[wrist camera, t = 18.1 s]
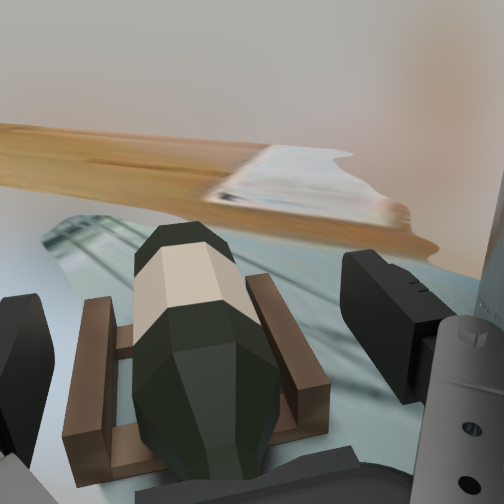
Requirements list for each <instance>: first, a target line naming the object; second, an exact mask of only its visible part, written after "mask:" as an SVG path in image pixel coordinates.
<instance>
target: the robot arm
mask: <svg viewBox="0 0 504 504" xmlns="http://www.w3.org/2000/svg"><path fill="white" fill-rule="evenodd" d="M340 309H341V314H342V317H343V320H344V322H345V323H346V325H347V326H348V328H349V329H350V331H351V332H352V333H353V335H354V336H355V338H356V339H357V340H358V342H359V343H360V345H361V346H362V348H363V349H364V350H365V352H366V353H367V355H368V356H369V358H370V359H371V360H372V362H373V363H374V365H375V366H376V368H377V369H378V370H379V372H380V373H381V375H382V376H383V378H384V379H385V380H386V382H387V383H388V385H389V386H390V388H391V389H392V390H393V392H394V393H395V395H396V396H397V398H398V399H399V400H400V402H401V403H402V405H405V404H410V403H415V402H420V401H421V402H422V403H423V405H424V406H425V407H424V412H423V418H422V424H421V430H420V436H419V442H418V448H417V454H416V459H415V465H414V471H413V476H412V475H410V474H408V473H406V472H403V471H401V470H398V469H395V468H392V467H388V466H384V465H380V464H374V463H366V462H359V461H358V459H357V457H356V455H355V453H354V451H353V449H352V447H351V445H350V446H345V447H341V448H336V449H331V450H327V451H322V452H317V453H313V454H308V455H303V456H300V457H298V458H296V459H294V460H292V461H290V462H288V463H286V464H284V465H281V466H279V467H277V468H275V469H273V470H271V471H269V472H267V473H265V474H263V475H261V476H259V477H257V478H254V479H251V480H196V479H191V480H187V481H182V482H177V483H172V484H168V485H163V486H158V487H154V488H149V489H144V490H140V491H135V504H504V172H503V177H502V181H501V186H500V191H499V196H498V201H497V205H496V210H495V214H494V220H493V224H492V229H491V233H490V238H489V243H488V247H487V253H486V257H485V262H484V267H483V271H482V276H481V281H480V286H479V291H478V296H477V300H476V305H475V310H474V315H475V317H474V316H468V315H457V314H456V313H455V312H453V311H452V310H451V309H450V308H449V307H448V306H447V305H446V304H445V303H443V302H442V301H441V300H440V299H439V298H438V297H437V296H436V295H435V294H433V293H432V292H431V291H430V292H429V289H428V288H427V287H426V286H425V285H423V284H422V283H420V281H419V280H418V279H417V278H416V277H415V276H413V275H412V274H411V273H410V272H409V271H407V270H405V269H403V268H401V267H399V266H396V265H394V264H388V263H387V262H386V261H385V260H384V259H383V258H382V257H380V256H379V255H378V254H377V253H376V252H375V251H374V250H372V249H368V250H361V251H353V252H346V253H345V254H344V256H343V259H342V272H341V289H340ZM54 366H55V354H54V347H53V343H52V339H51V335H50V332H49V328H48V325H47V321H46V317H45V314H44V310H43V307H42V303H41V300H40V298H39V296H38V295H37V294H36V293H34V294H26V295H19V296H12V297H4V298H3V299H2V300H1V302H0V504H58V503H57V502H56V500H55V499H54V498H53V497H52V496H51V495H50V494H49V492H48V491H47V490H46V489H45V488H44V487H43V485H42V484H41V483H40V482H39V481H38V480H37V479H36V477H35V476H34V475H33V474H32V473H31V472H30V471H29V468H30V464H31V460H32V456H33V452H34V448H35V444H36V440H37V436H38V432H39V428H40V424H41V420H42V416H43V412H44V407H45V404H46V400H47V396H48V392H49V388H50V384H51V380H52V376H53V372H54Z"/></svg>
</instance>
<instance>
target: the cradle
mask: <svg viewBox="0 0 504 504" xmlns="http://www.w3.org/2000/svg"><path fill="white" fill-rule="evenodd" d="M245 280H246V290H247V292H248V295H249V297H250V299H251V302H252V304H253V307H254V309H255V311H256V314H257V316H258V319H259V321H260V323H261V326H262V328H263V331H264V333H265V336H266V338H267V340H268V343H269V345H270V348H271V350H272V352H273V355H274V357H275V360H276V362H277V364H278V367H279V369H280V416H279V418H278V421H277V423H276V426H275V428H274V431H273V434H272V436H271V439H270V441H269V444H268V446H270V445H275V444H279V443H284V442H288V441H293V440H297V439H302V438H306V437H311V436H315V435H320V434H324V433H328V426H329V407H330V388H331V383H330V381H329V379H328V378H327V376H326V374H325V372H324V370H323V369H322V367H321V365H320V363H319V362H318V360H317V358H316V356H315V355H314V353H313V351H312V349H311V348H310V346H309V344H308V342H307V340H306V339H305V337H304V335H303V333H302V332H301V330H300V328H299V326H298V325H297V323H296V321H295V319H294V318H293V316H292V314H291V312H290V311H289V309H288V307H287V305H286V303H285V302H284V300H283V298H282V296H281V295H280V293H279V291H278V289H277V288H276V286H275V284H274V282H273V281H272V279H271V277H270V275H269V273H264V274H258V275H251V276H245ZM129 357H133V325H126V326H120V327H117V324H116V319H115V314H114V309H113V304H112V299H111V296H107V297H100V298H93V299H87V300H85V302H84V308H83V314H82V319H81V325H80V331H79V338H78V343H77V349H76V355H75V361H74V367H73V372H72V379H71V385H70V390H69V396H68V402H67V408H66V414H65V420H64V425H63V431H62V440H63V443H64V446H65V450H66V453H67V457H68V460H69V463H70V467H71V470H72V473H73V476H74V480H75V483H76V487H77V488H80V487H85V486H89V485H93V484H98V483H103V482H107V481H112V480H116V479H121V478H125V477H130V476H134V475H139V474H144V473H148V472H153V471H157V470H162V469H166V468H168V467H167V466H166V465H165V464H164V463H163V462H162V461H161V460H160V459H159V458H158V457H157V456H156V455H155V454H154V453H153V452H152V451H151V450H150V449H149V448H148V447H147V446H146V445H144V444H143V443H142V442H141V438H140V433H139V428H138V423H133V424H128V425H123V426H118V427H116V405H117V379H118V359H123V358H129Z"/></svg>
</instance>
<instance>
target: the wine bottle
mask: <svg viewBox="0 0 504 504" xmlns="http://www.w3.org/2000/svg"><path fill="white" fill-rule="evenodd" d="M132 398H133V403H134V408H135V413H136V418H137V423H138V428H139V433H140V438H141V442H142V443H143V444H144V445H146V446H147V447H148V448H149V449H150V450H151V451H152V452H153V453H154V454H155V455H156V456H157V457H158V458H159V459H160V460H161V461H162V462H163V463H164V464H165V465H166V466H167V467H168V468H169V469H170V470H171V471H172V472H173V473H174V474H175V475H176V476H177V477H178V478H179V479H181V480H182V481H187V480H191V479H196V480H251V479H254V478H257V477H259V476H261V475H262V473H261V470H260V465H261V462H262V459H263V457H264V454H265V452H266V449H267V447H268V444H269V441H270V439H271V436H272V434H273V431H274V428H275V426H276V423H277V421H278V418H279V416H280V369H279V367H278V364H277V362H276V360H275V357H274V355H273V352H272V350H271V348H270V345H269V343H268V340H267V338H266V336H265V333H264V331H263V328H262V326H261V323H260V321H259V319H258V316H257V314H256V311H255V309H254V307H253V304H252V302H251V299H250V297H249V295H248V292H247V290H246V287H245V285H244V283H243V280H242V278H241V275H240V273H239V270H238V268H237V266H236V263H235V261H234V258H233V256H232V254H231V251H230V249H229V246H228V244H227V242H225V241H224V240H223V239H221V238H220V237H219V236H217V235H216V234H215V233H213V232H212V231H211V230H209V229H208V228H207V227H205V226H204V225H203V224H201V223H200V222H199V221H196V222H187V223H178V224H170V225H161V226H158V227H157V229H156V230H155V231H154V232H153V233H152V234H151V236H150V237H149V238H148V239H147V240H146V241H145V243H144V244H143V245H142V246H141V247H140V248H139V250H138V251H137V252H136V253H135V263H134V320H133V377H132Z"/></svg>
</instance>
